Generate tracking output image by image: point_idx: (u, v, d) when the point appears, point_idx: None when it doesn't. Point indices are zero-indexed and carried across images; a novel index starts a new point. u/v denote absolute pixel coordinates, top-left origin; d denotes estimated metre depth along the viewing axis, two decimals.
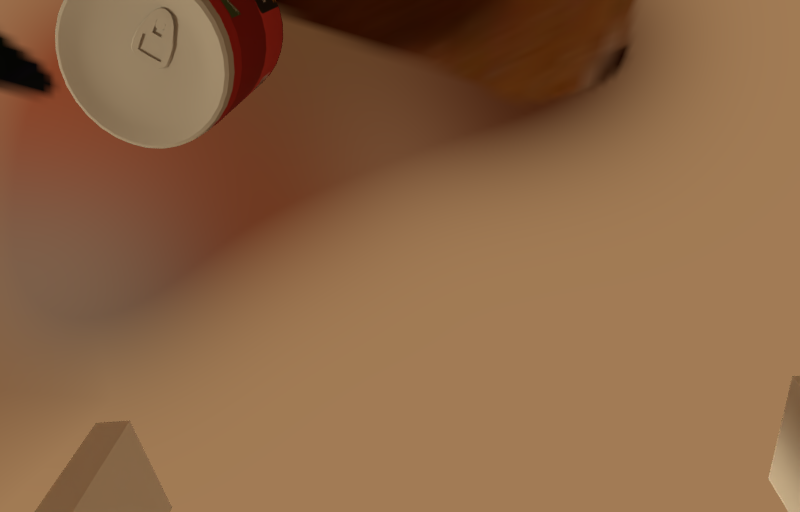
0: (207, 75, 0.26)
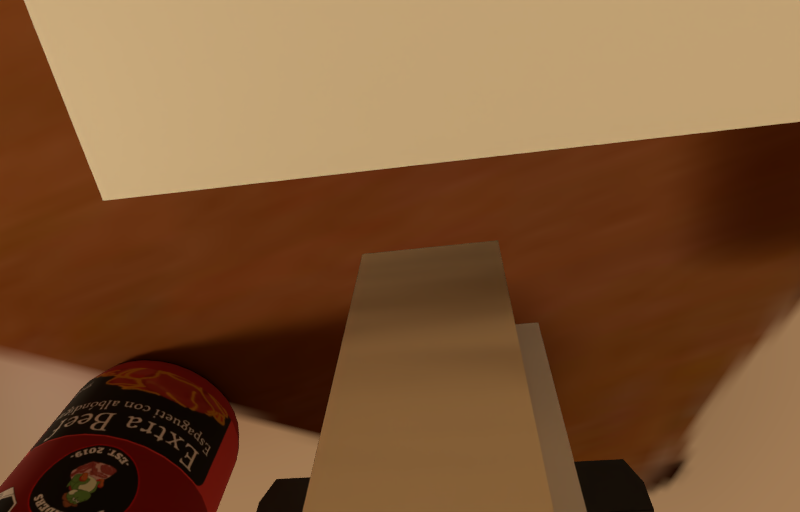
0: None
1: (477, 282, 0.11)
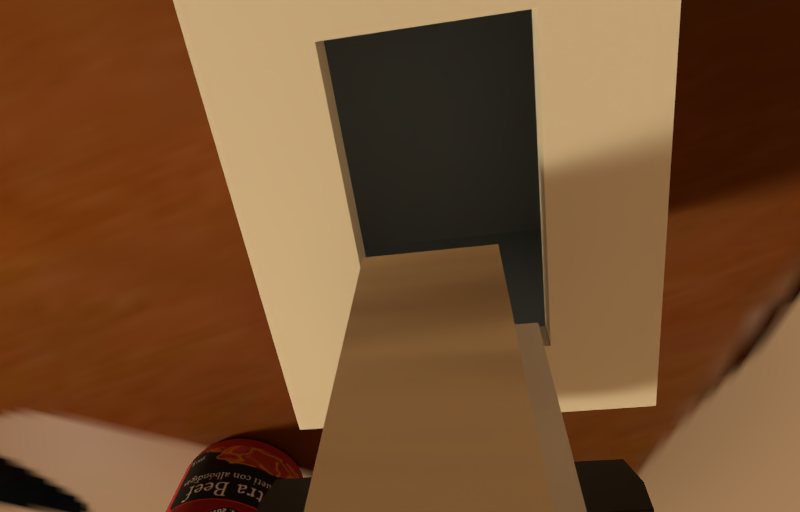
0: None
1: (478, 285, 0.11)
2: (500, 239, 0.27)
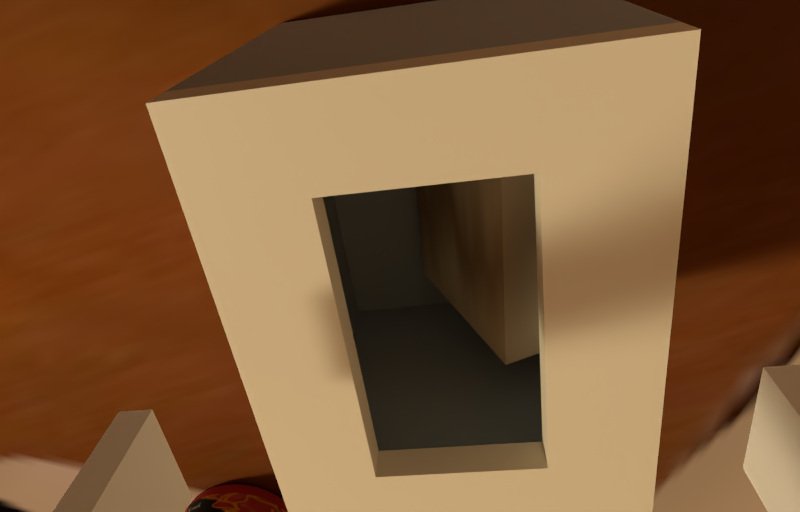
0: None
1: None
2: None
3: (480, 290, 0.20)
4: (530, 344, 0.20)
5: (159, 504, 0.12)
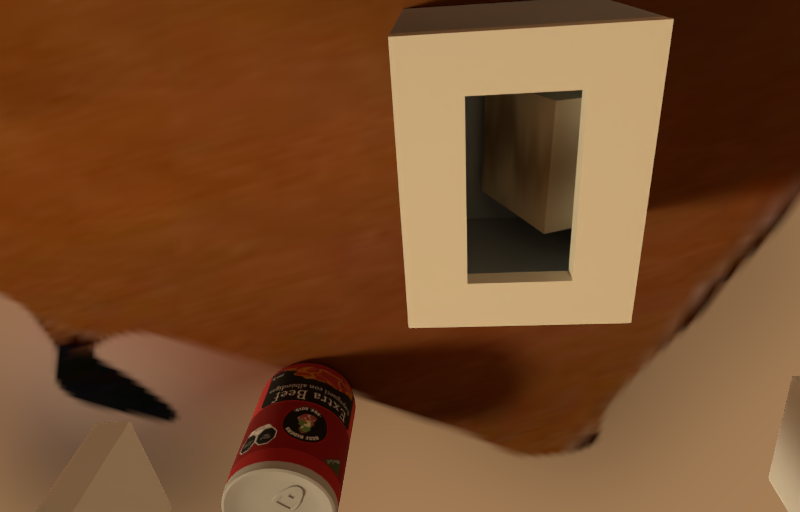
0: None
1: None
2: None
3: (530, 187, 0.31)
4: (560, 222, 0.31)
5: None
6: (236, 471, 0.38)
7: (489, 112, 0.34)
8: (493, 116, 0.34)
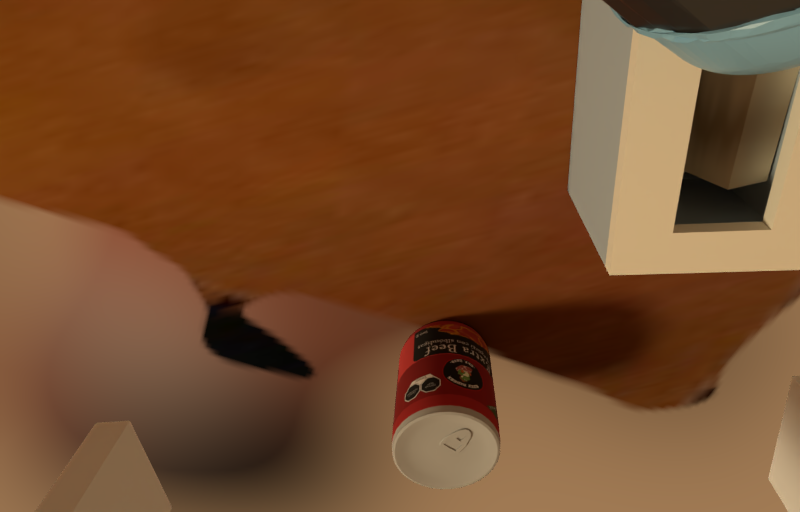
0: (482, 459, 0.42)
1: None
2: None
3: (713, 146, 0.34)
4: (742, 178, 0.34)
5: None
6: (409, 415, 0.41)
7: None
8: None
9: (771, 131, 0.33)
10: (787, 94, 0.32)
